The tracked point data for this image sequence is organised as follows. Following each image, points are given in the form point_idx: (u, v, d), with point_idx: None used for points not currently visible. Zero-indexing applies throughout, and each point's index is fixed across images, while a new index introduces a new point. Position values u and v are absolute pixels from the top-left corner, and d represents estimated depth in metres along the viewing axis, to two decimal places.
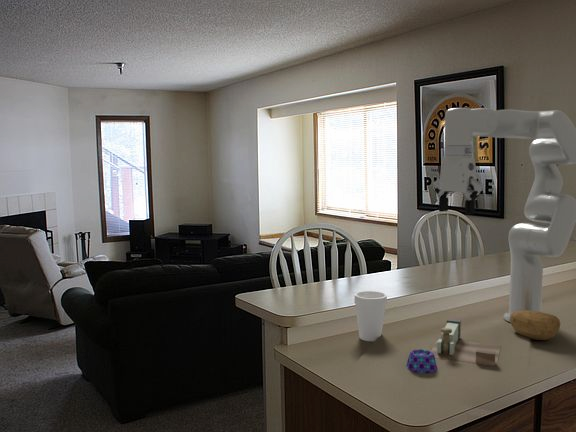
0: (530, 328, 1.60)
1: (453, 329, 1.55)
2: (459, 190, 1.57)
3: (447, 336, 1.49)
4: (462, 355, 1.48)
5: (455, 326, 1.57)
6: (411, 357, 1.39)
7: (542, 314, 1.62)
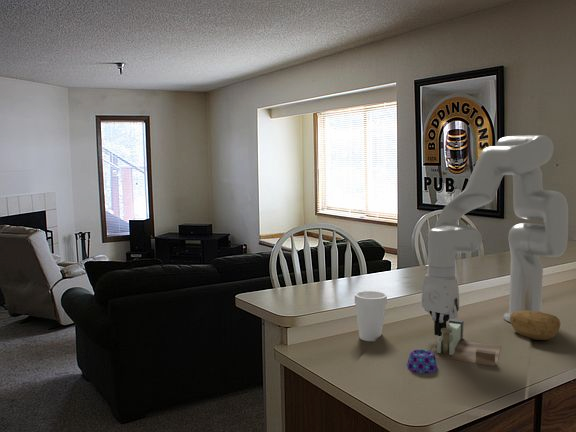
0: (530, 328, 1.60)
1: (454, 329, 1.55)
2: None
3: (447, 336, 1.49)
4: (462, 355, 1.48)
5: (457, 326, 1.57)
6: (411, 357, 1.39)
7: (542, 314, 1.62)
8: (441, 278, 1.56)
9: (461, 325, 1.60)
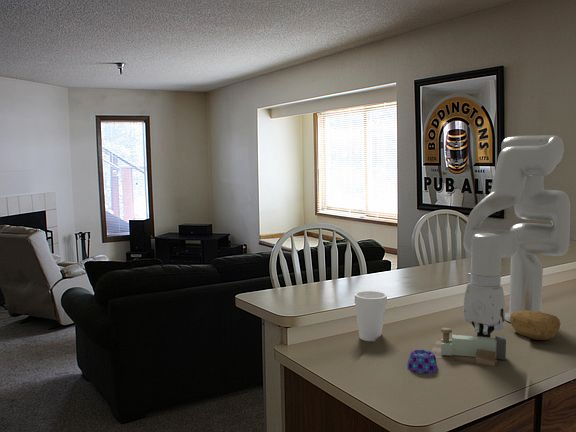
0: (530, 328, 1.60)
1: (471, 339, 1.47)
2: None
3: (447, 336, 1.49)
4: None
5: (483, 340, 1.46)
6: (411, 357, 1.39)
7: (542, 314, 1.62)
8: (486, 287, 1.45)
9: (496, 343, 1.45)
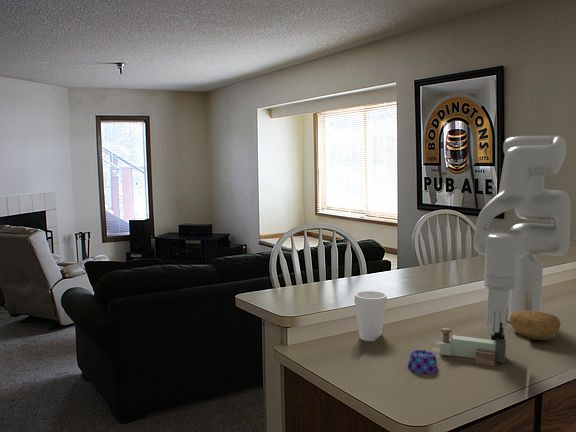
0: (530, 328, 1.60)
1: (471, 340, 1.46)
2: None
3: (447, 336, 1.49)
4: None
5: (483, 342, 1.44)
6: (411, 356, 1.40)
7: (542, 314, 1.62)
8: (486, 286, 1.45)
9: (495, 346, 1.43)
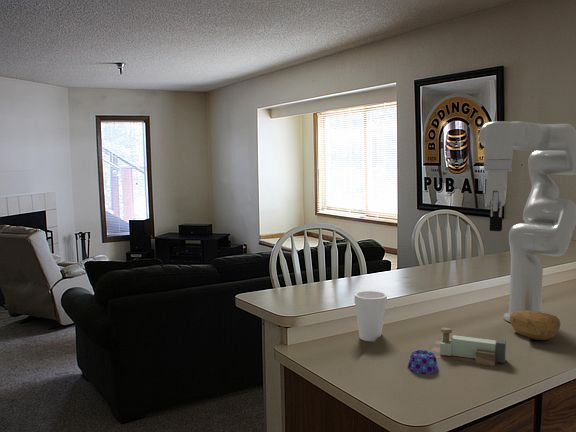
0: (530, 328, 1.60)
1: (471, 340, 1.46)
2: None
3: (447, 336, 1.49)
4: None
5: (483, 342, 1.44)
6: (410, 356, 1.40)
7: (542, 314, 1.62)
8: (485, 170, 1.57)
9: (495, 346, 1.43)
